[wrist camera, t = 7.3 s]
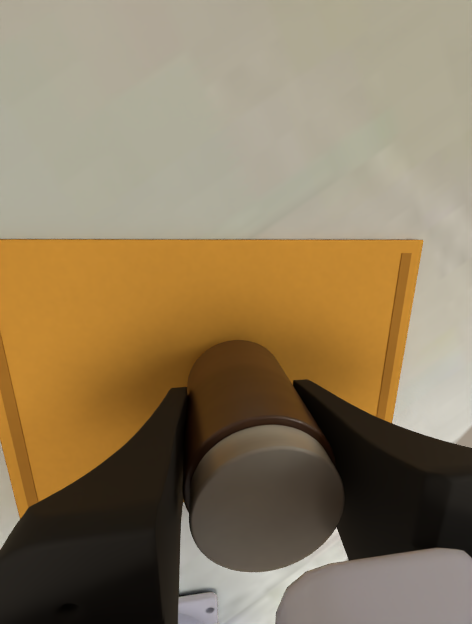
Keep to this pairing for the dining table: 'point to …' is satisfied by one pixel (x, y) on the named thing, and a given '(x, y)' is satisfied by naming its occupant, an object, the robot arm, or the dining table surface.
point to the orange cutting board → (181, 333)
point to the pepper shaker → (255, 463)
